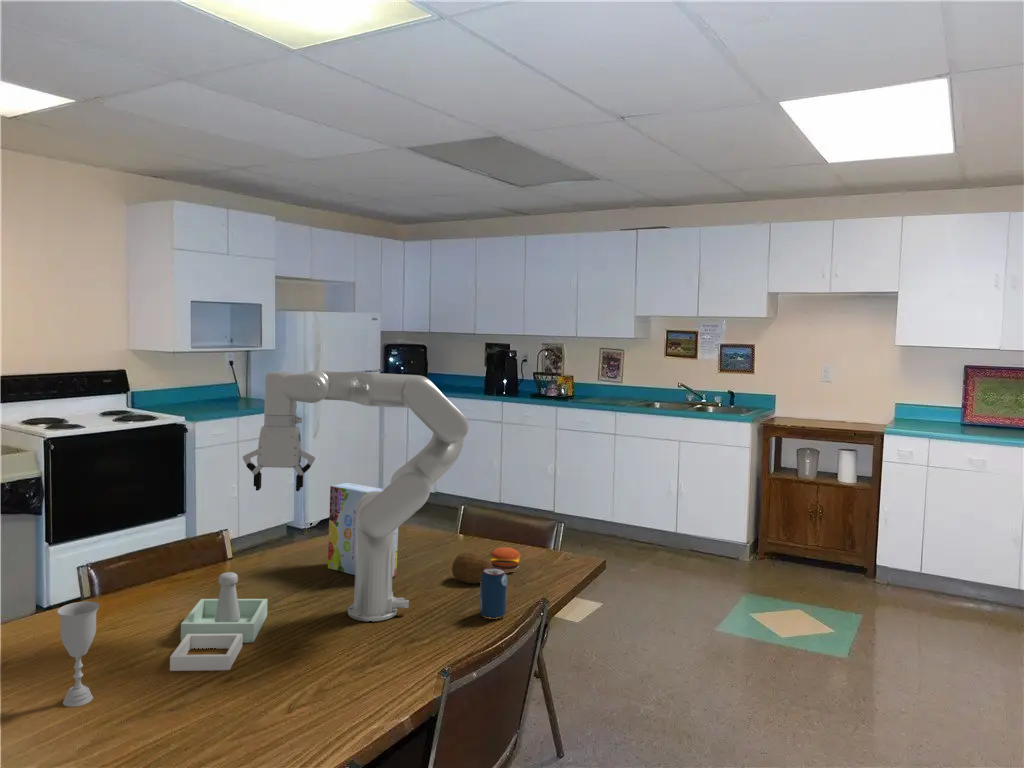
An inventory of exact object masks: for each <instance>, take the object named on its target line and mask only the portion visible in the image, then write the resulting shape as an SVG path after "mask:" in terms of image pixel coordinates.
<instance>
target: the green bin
mask: <svg viewBox="0 0 1024 768" xmlns="http://www.w3.org/2000/svg"><path fill="white" fill-rule="evenodd" d="M218 599H219V598H200V600H199V601H198V602H197V603H196V605H195V606H193V608H192V610H190V612H189V613H188V614H187V616H186V617H185V619H183V621H182V622H181V623H180V643H181V642H182V641H183V639H184V638H185V637H186V635H187V634H243V644H250V643H252V644H254V643H255V641H256V639H257V636H258V634H259V633H260V631H261V629H262V627H263V626H264V624H265V621H266V620H267V617H268V598H238V604H239V610H240V619H239V621H238V622H215V620H214V618H215V614H216V609H217V604H218Z"/></svg>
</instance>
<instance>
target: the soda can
mask: <svg viewBox="0 0 1024 768" xmlns="http://www.w3.org/2000/svg"><path fill="white" fill-rule="evenodd" d="M479 585H480V591H479V609H478V610H479V614H480V615H481V617H482V616H485V617H491V618H496V617H501V616H503V615H504V616H505V614H506V611H507V597H508V595H507V594H508V592H507V591H508V575H507V573H505V570H504V569H502V568H497V567H490V568H485V569H484V570H483V574H482V575H481V584H479ZM504 616H503V617H504Z"/></svg>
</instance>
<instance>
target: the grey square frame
mask: <svg viewBox="0 0 1024 768" xmlns="http://www.w3.org/2000/svg"><path fill="white" fill-rule="evenodd" d="M243 645H244V643H243V634H187V635H186V637H185V638H184V639H183V641H182V642H181V641H180V643H179V645H178V646H177V647H176V648H175V650H174V651H173V652H172V653H171V655H170V657H169V671H170V672H182V671H185V672H187V671H189V672H191V671H193V672H194V671H195V672H196V671H197V672H199V671H200V672H201V671H230V670H231V668H232V667H233V664H234V663H235V661H236V659H237V657H238V655H240V654H239V653H240V652H241V649H242V648H243ZM194 648H195V649H196V650H197V649H198V648H199V649H201V650H203V649H205V650H206V648H207V649H208V648H209V649H210V648H213V649H214V648H216V649H228V650H227V651H226V653H225V654H188V653H189V652H190V651H191V650H192V649H193V650H194ZM202 648H203V649H202ZM188 651H189V652H188Z"/></svg>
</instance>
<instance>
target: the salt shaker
mask: <svg viewBox="0 0 1024 768" xmlns="http://www.w3.org/2000/svg"><path fill="white" fill-rule="evenodd" d="M238 580H239V576H238V574H237V573H236V572H231V571H228V572H223V573H221V574H220V575H219V577H218V584H219V585H221V586H220V590H219V595H218V598H217V599H218V604H217V609H216V614H215V618H214V620H215V622H238V621H239V619H240V610H239V604H238V599H239V598H238V593H237V587H236V584H237V583H238Z"/></svg>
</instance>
